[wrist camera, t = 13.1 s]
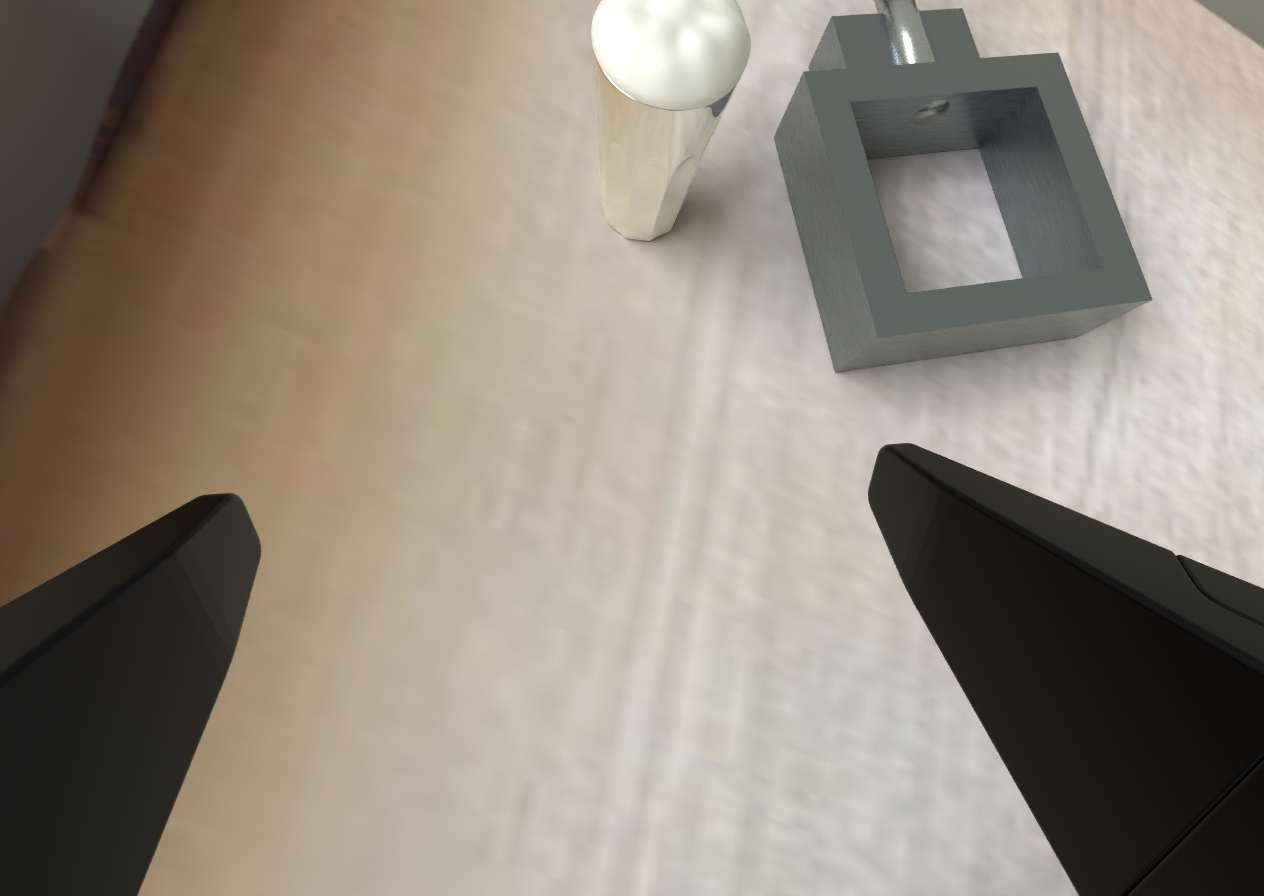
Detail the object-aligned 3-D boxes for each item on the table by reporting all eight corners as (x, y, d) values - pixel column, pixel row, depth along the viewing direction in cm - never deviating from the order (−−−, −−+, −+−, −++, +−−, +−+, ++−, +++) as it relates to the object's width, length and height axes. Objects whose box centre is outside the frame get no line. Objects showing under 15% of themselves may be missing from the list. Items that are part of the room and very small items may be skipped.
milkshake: (716, 170, 26) (803, -77, 16) (670, 273, 25) (735, 72, 15) (619, 128, 26) (648, -146, 16) (567, 229, 25) (565, -3, 15)
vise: (1075, 337, 26) (1152, 299, 22) (835, 372, 24) (878, 338, 21) (962, 11, 29) (1013, -64, 26) (744, 25, 28) (769, -53, 24)
